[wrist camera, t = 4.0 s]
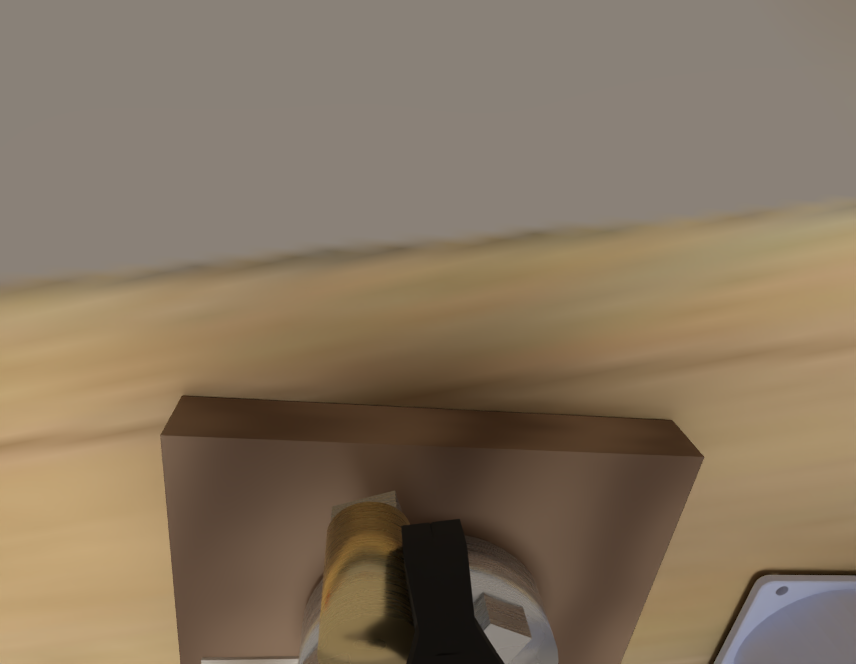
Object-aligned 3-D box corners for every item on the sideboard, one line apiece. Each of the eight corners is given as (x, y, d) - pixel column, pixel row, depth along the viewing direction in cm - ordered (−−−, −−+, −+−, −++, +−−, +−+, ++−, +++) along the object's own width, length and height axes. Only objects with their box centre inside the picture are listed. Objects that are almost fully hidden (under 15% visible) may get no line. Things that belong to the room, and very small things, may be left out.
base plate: (672, 420, 19) (706, 459, 17) (576, 683, 25) (593, 733, 23) (181, 396, 17) (159, 437, 15) (201, 692, 23) (187, 748, 21)
